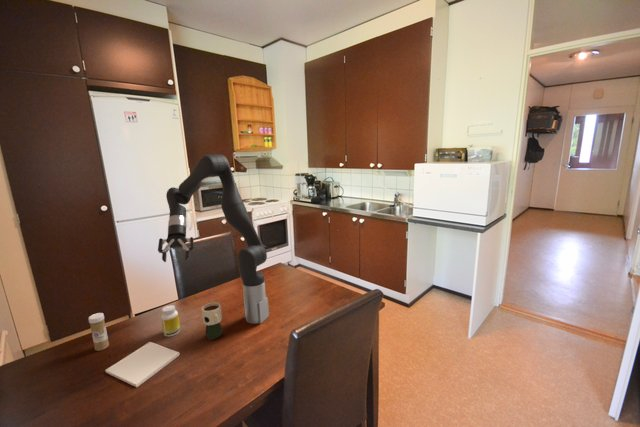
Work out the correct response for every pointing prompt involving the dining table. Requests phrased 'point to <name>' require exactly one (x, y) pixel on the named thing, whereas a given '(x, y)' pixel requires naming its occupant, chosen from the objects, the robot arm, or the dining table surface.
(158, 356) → the ceramic tile
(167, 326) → the pill bottle
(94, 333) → the sprinkles bottle
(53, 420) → the dining table surface
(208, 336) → the character mug
